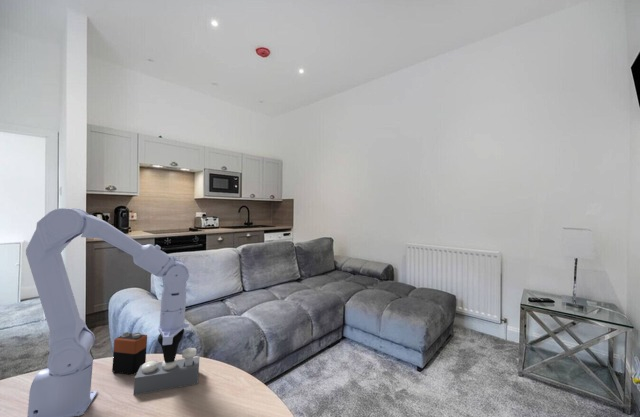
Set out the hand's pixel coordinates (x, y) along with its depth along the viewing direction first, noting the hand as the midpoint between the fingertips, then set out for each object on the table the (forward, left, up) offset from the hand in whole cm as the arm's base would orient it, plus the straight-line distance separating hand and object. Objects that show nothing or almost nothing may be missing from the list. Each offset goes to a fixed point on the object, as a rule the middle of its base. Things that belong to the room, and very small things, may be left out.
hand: (169, 360), depth 69 cm
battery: (-11, +10, -6) cm, 16 cm away
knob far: (+5, 0, -3) cm, 6 cm away
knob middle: (0, 0, -5) cm, 5 cm away
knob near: (-4, 0, -5) cm, 7 cm away
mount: (0, 0, -5) cm, 5 cm away
